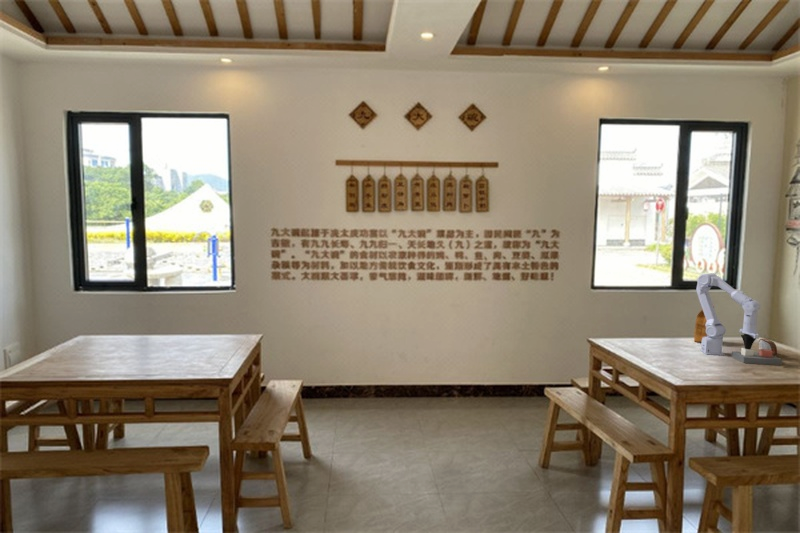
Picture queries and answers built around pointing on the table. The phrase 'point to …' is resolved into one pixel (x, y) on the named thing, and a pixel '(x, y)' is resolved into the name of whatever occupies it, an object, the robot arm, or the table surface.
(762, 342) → the tin
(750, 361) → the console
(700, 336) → the coffee package
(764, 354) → the red button
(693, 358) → the table surface
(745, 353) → the white cube
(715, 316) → the robot arm
